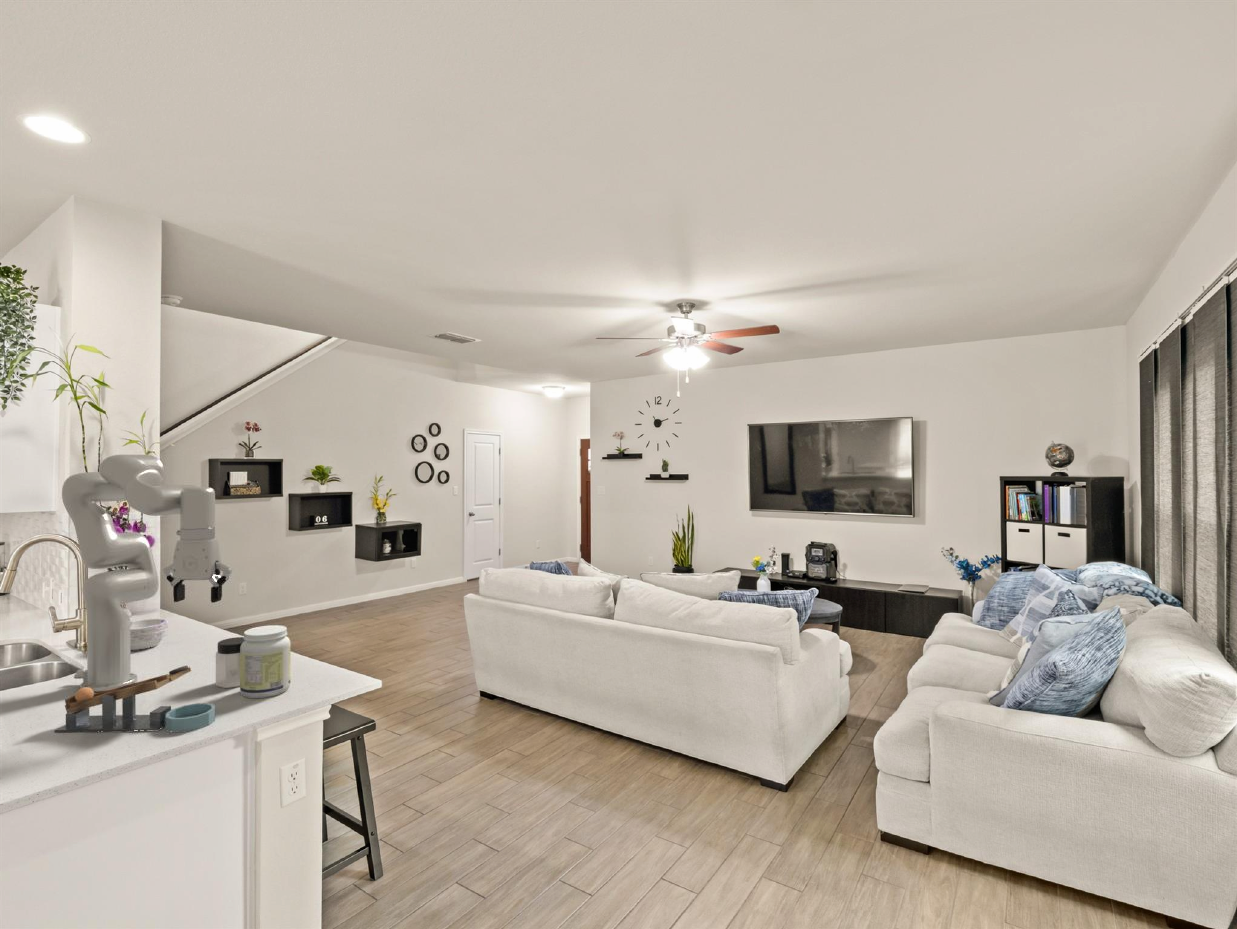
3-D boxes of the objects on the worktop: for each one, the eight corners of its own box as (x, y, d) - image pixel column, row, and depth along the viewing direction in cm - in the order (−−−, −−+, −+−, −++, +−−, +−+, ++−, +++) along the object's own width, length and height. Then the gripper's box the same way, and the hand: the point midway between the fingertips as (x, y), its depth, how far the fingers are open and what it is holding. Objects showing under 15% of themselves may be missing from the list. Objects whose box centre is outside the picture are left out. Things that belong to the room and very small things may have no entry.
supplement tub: (257, 683, 182) (257, 623, 182) (299, 684, 182) (299, 624, 182) (229, 699, 170) (229, 635, 170) (274, 700, 170) (275, 636, 170)
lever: (67, 713, 151) (63, 700, 151) (108, 693, 164) (104, 681, 164) (159, 688, 152) (155, 675, 152) (192, 670, 165) (189, 658, 165)
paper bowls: (119, 643, 220) (119, 620, 220) (172, 638, 227) (172, 616, 227) (105, 656, 206) (105, 631, 206) (162, 650, 213) (162, 626, 213)
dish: (156, 732, 150) (156, 719, 150) (182, 715, 159) (182, 703, 159) (199, 731, 150) (199, 718, 150) (223, 714, 160) (223, 702, 160)
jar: (216, 690, 176) (216, 646, 176) (215, 681, 183) (215, 639, 183) (253, 684, 181) (253, 642, 181) (251, 676, 188) (251, 635, 188)
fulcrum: (54, 732, 149) (54, 698, 149) (82, 718, 157) (82, 685, 157) (157, 731, 150) (157, 696, 150) (180, 716, 159) (180, 683, 159)
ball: (73, 707, 151) (68, 693, 151) (85, 701, 155) (80, 687, 155) (88, 702, 152) (83, 688, 152) (99, 696, 155) (94, 683, 155)
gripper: (154, 536, 162) (154, 604, 162) (221, 537, 162) (221, 605, 162) (175, 532, 170) (175, 597, 170) (239, 533, 169) (239, 598, 169)
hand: (197, 601), depth 166 cm, fingers open, 9 cm apart
